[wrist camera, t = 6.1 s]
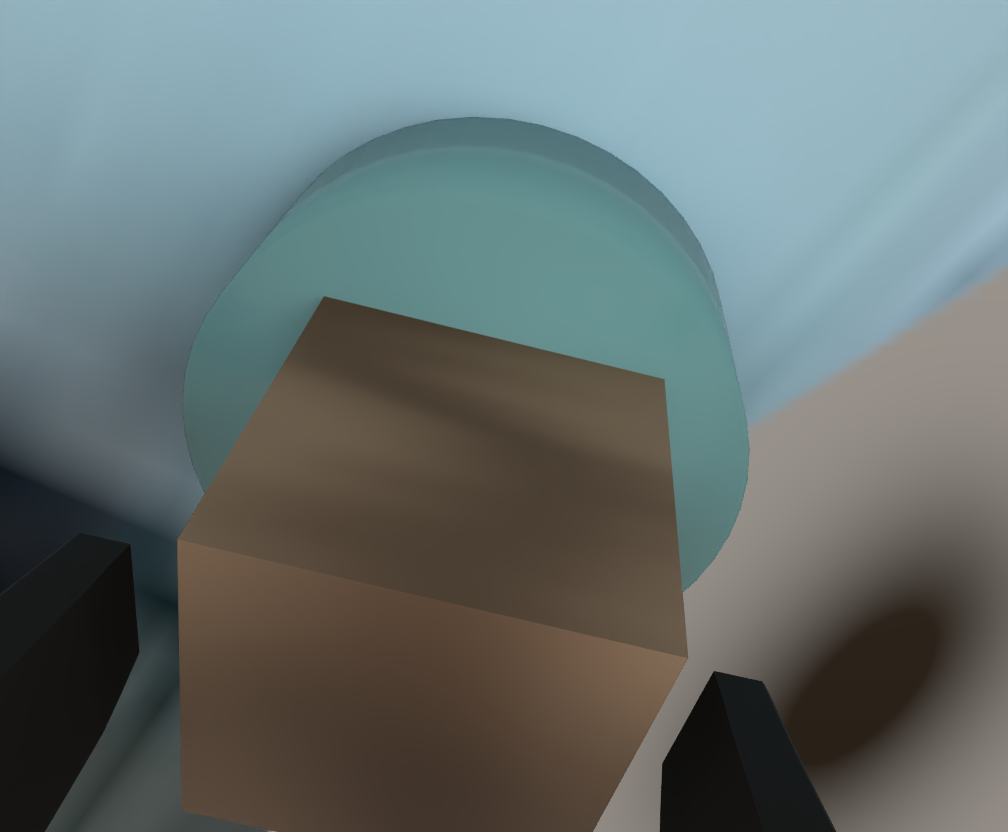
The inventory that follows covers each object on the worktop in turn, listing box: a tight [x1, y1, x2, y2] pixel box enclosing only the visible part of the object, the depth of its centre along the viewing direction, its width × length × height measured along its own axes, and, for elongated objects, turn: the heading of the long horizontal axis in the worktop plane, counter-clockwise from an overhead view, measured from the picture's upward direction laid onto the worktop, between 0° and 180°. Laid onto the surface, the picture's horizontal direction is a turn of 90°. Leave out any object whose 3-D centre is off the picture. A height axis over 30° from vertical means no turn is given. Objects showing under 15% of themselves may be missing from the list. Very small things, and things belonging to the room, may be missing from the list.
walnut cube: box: [177, 296, 688, 832], centre depth 12 cm, size 5×5×5 cm
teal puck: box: [182, 117, 749, 592], centre depth 15 cm, size 9×9×4 cm
